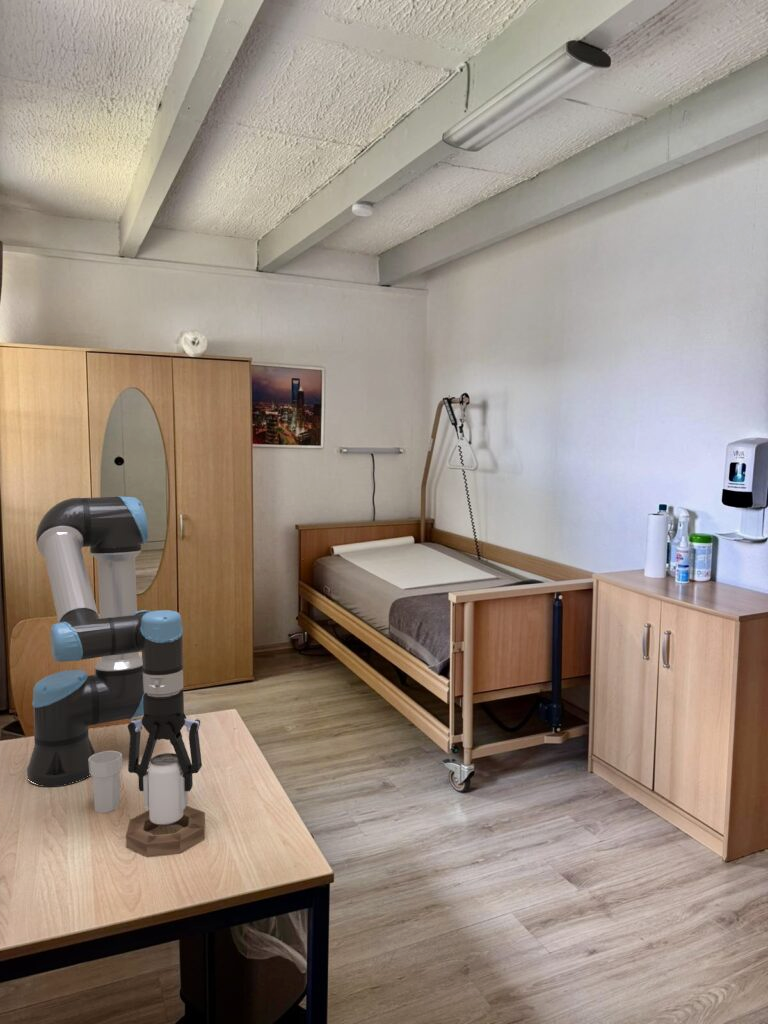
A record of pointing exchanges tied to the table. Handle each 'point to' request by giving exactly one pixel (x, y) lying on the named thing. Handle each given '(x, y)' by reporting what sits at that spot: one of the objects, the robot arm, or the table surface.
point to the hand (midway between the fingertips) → (166, 805)
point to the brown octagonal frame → (165, 843)
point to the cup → (105, 779)
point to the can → (164, 789)
